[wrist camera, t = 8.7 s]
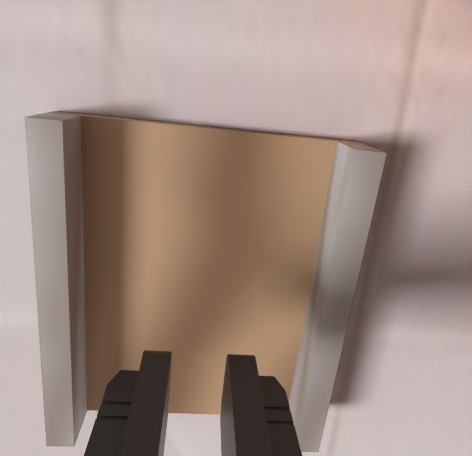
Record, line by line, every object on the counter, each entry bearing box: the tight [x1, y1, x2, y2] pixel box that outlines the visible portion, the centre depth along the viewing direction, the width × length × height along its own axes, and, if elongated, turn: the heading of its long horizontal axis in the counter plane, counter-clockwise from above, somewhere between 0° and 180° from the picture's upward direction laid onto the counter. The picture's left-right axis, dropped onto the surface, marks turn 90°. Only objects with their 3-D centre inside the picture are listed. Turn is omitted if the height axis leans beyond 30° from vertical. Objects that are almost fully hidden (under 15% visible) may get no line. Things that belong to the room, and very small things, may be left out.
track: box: [25, 111, 387, 452], centre depth 15 cm, size 10×12×2 cm
